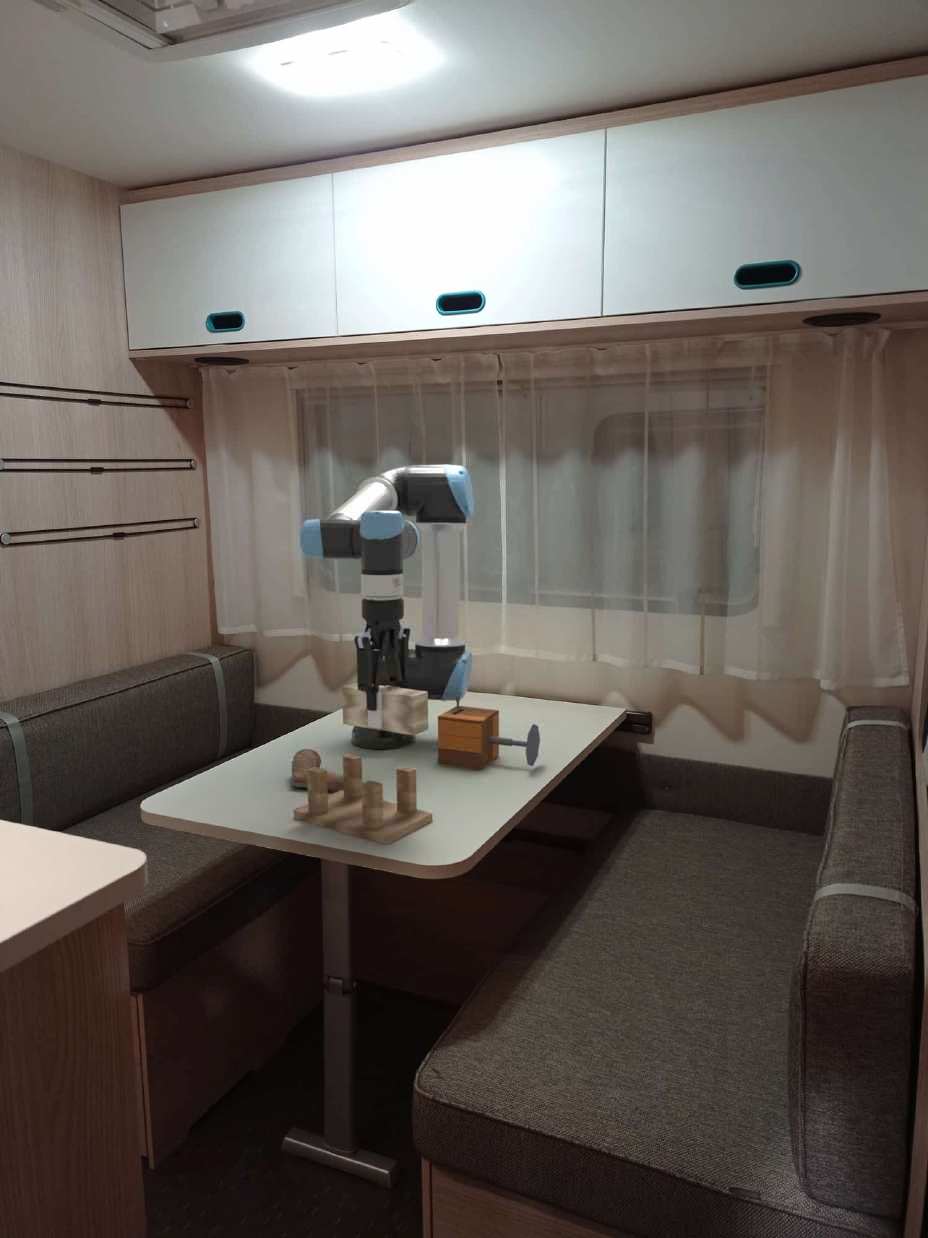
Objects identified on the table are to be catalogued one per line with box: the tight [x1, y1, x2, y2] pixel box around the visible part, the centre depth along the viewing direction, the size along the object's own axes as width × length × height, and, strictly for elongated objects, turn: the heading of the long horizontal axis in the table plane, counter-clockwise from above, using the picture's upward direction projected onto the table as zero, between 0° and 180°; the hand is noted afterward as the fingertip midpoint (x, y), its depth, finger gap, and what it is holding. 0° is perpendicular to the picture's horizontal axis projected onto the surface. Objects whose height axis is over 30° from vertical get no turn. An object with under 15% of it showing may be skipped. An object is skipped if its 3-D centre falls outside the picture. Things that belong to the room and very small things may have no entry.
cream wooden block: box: [341, 682, 429, 735], centre depth 163 cm, size 16×4×7 cm, turn 58°
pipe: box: [291, 748, 344, 793], centre depth 182 cm, size 6×17×10 cm
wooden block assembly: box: [293, 753, 433, 846], centre depth 162 cm, size 22×13×10 cm, turn 55°
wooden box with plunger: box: [437, 696, 541, 771], centre depth 195 cm, size 11×20×14 cm, turn 66°
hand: (384, 723), depth 163 cm, fingers closed on cream wooden block, 5 cm apart
